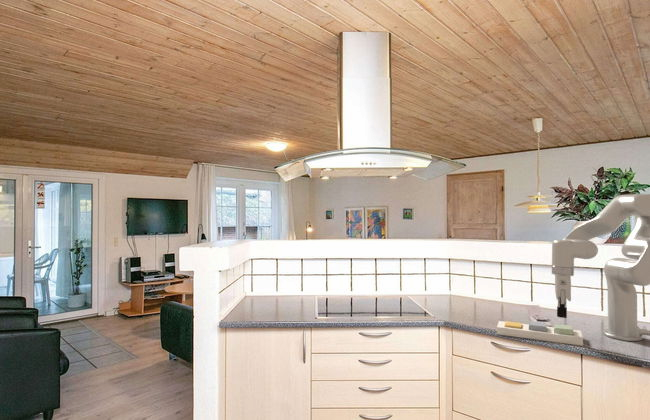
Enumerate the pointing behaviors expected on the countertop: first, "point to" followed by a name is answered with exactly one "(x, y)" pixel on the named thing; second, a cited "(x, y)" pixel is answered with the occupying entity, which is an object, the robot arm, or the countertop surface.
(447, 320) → the countertop surface
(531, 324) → the key slate
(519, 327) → the key ochre
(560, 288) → the robot arm
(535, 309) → the mobile phone
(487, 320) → the countertop surface
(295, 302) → the countertop surface
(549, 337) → the keypad
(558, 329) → the key sage
